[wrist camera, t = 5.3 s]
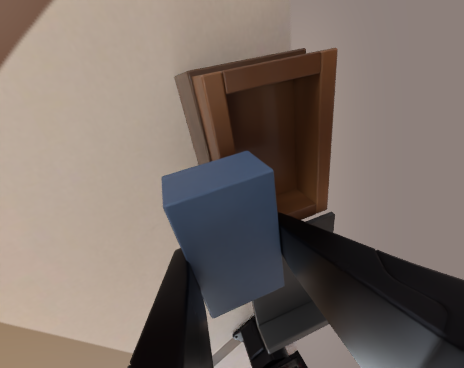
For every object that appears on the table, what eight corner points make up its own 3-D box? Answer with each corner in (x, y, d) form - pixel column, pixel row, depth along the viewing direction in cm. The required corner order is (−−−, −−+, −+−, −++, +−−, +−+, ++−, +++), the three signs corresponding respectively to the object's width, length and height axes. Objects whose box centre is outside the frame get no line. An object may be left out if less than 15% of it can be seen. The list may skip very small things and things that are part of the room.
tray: (304, 192, 14) (327, 210, 12) (226, 220, 13) (238, 244, 11) (304, 54, 10) (338, 46, 8) (191, 76, 9) (200, 75, 7)
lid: (324, 295, 16) (342, 317, 14) (257, 327, 15) (268, 355, 13) (331, 211, 12) (357, 230, 10) (239, 246, 11) (253, 273, 9)
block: (264, 252, 10) (285, 286, 8) (202, 278, 10) (212, 319, 8) (248, 149, 7) (274, 169, 6) (160, 175, 7) (162, 206, 5)
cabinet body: (258, 159, 21) (306, 194, 14) (201, 176, 20) (224, 224, 13) (246, 61, 17) (306, 47, 10) (174, 76, 16) (186, 71, 9)
